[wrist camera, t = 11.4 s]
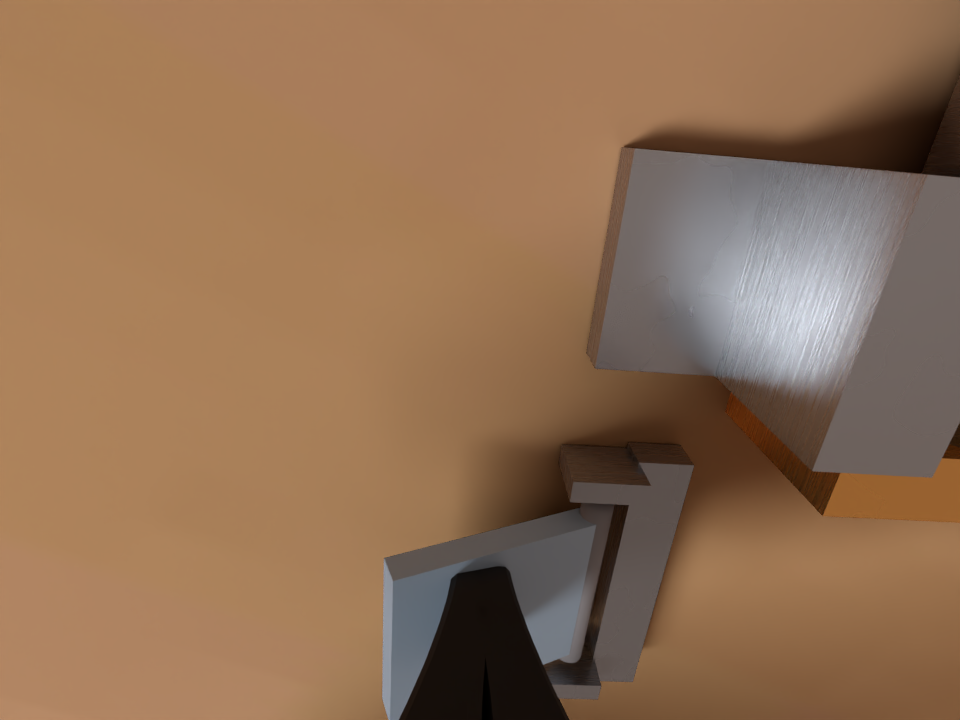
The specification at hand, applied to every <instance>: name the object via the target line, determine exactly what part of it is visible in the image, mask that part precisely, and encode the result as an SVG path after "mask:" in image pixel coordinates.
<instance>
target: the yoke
mask: <svg viewBox="0 0 960 720" xmlns="http://www.w3.org/2000/svg"><path fill="white" fill-rule="evenodd" d="M586 353H587V355H588V357H589V358H590V360H591V362H592V364H593V366H594V368H595V369H610V370H626V371H642V372H658V373H674V374H689V375H705V376H715V377H716V378H717V379H718V380H719V381H720V382H721V383H722V384H723V385H724V386H725V387H726V388H727V389H728V390H729V391H730V392H731V393H732V394H733V395H735V396H736V397H737V398H738V399H739V400H740V401H741V402H742V403H743V404H744V405H745V406H746V407H747V408H748V409H749V410H750V411H751V412H752V413H753V414H754V415H755V416H756V417H757V418H758V419H759V420H760V421H761V422H762V423H763V424H764V425H765V426H766V427H767V428H768V429H769V430H770V431H771V432H772V433H773V434H774V435H775V436H776V437H778V438H779V439H780V440H781V441H782V442H783V443H784V444H785V445H786V446H787V447H788V448H789V449H790V450H791V451H792V452H793V453H794V454H795V455H796V456H797V457H798V458H799V459H800V460H801V461H802V462H803V463H804V464H805V465H806V466H807V467H808V468H809V469H810V470H811V471H816V472H835V473H854V474H872V475H891V476H910V477H928V478H932V477H933V475H934V473H935V471H936V469H937V467H938V465H939V463H940V461H941V459H942V457H943V455H944V453H945V451H946V449H947V447H948V445H949V443H950V441H951V439H952V437H953V435H954V433H955V431H956V429H957V427H958V425H959V423H960V177H953V176H942V175H931V174H920V173H909V172H898V171H887V170H876V169H865V168H854V167H843V166H832V165H820V164H809V163H797V162H786V161H774V160H763V159H751V158H740V157H729V156H717V155H706V154H694V153H683V152H671V151H660V150H648V149H637V148H625V147H622V149H621V155H620V161H619V166H618V172H617V178H616V184H615V190H614V196H613V201H612V207H611V213H610V219H609V225H608V230H607V236H606V242H605V248H604V254H603V259H602V265H601V271H600V277H599V283H598V288H597V294H596V300H595V306H594V312H593V317H592V323H591V329H590V335H589V341H588V347H587V352H586Z"/></svg>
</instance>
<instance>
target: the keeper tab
mask: <svg viewBox="0 0 960 720" xmlns="http://www.w3.org/2000/svg"><path fill="white" fill-rule="evenodd" d="M613 510H614V504H597V503H581V507H580V508H577V509H573V510H569V511H565V512H561V513H557V514H554V515H550V516H546V517H542V518H538V519H534V520H530V521H526V522H522V523H519V524H515V525H511V526H507V527H503V528H499V529H495V530H491V531H487V532H484V533H480V534H476V535H472V536H468V537H464V538H460V539H456V540H452V541H449V542H445V543H441V544H437V545H433V546H429V547H425V548H421V549H417V550H414V551H410V552H406V553H402V554H398V555H394V556H390V557H386V558H384V602H383V686H382V699H383V703H384V706H385V710H386V713H387V716H388V720H399V718H400V716H401V714H402V712H403V710H404V708H405V706H406V704H407V701H408V699H409V697H410V695H411V692H412V690H413V688H414V686H415V683H416V681H417V679H418V676H419V674H420V672H421V670H422V667H423V665H424V663H425V660H426V658H427V655H428V652H429V650H430V647H431V644H432V642H433V639H434V636H435V633H436V631H437V628H438V625H439V622H440V619H441V616H442V613H443V609H444V606H445V603H446V599H447V595H448V591H449V586H450V581H451V578H453V577H454V576H455V575H456V574H457V573H463V572H469V571H474V570H479V569H485V568H490V567H495V566H503V567H506V568H507V569H508V570H509V571H510V574H511V578H512V582H513V586H514V589H515V593H516V596H517V599H518V602H519V605H520V608H521V611H522V614H523V616H524V619H525V622H526V625H527V627H528V630H529V632H530V635H531V637H532V640H533V643H534V645H535V647H536V649H537V652H538V654H539V656H540V659H541V661H542V663H543V665H544V664H547V663H549V662H552V661H554V660H557V659H560V660H562V661H564V662H566V663H574V662H577V661H578V660H579V659H580V657H581V654H582V650H583V645H584V641H585V636H586V632H587V627H588V623H589V618H590V614H591V609H592V604H593V600H594V595H595V591H596V586H597V582H598V577H599V573H600V568H601V564H602V559H603V555H604V550H605V546H606V541H607V537H608V532H609V528H610V523H611V519H612V514H613Z"/></svg>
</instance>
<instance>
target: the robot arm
mask: <svg viewBox="0 0 960 720" xmlns="http://www.w3.org/2000/svg"><path fill="white" fill-rule="evenodd" d="M399 720H569V718H568V716H567V714H566V712H565V710H564V708H563V706H562V704H561V702H560V700H559V698H558V696H557V694H556V692H555V690H554V688H553V686H552V683H551V681H550V679H549V677H548V675H547V673H546V670H545V668H544V666H543V663H542V661H541V659H540V656H539V654H538V652H537V649H536V647H535V645H534V643H533V640H532V637H531V635H530V632H529V630H528V627H527V625H526V622H525V619H524V616H523V614H522V611H521V608H520V605H519V602H518V599H517V596H516V593H515V589H514V586H513V582H512V578H511V574H510V571H509V570H508V569H507V568H506V567H503V566H495V567H490V568H485V569H479V570H474V571H469V572H463V573H457V574H456V575H455V576H454V577H453V578H451V581H450V586H449V591H448V595H447V599H446V603H445V606H444V609H443V613H442V616H441V619H440V622H439V625H438V628H437V631H436V633H435V636H434V639H433V642H432V644H431V647H430V650H429V652H428V655H427V658H426V660H425V663H424V665H423V667H422V670H421V672H420V674H419V676H418V679H417V681H416V683H415V686H414V688H413V690H412V692H411V695H410V697H409V699H408V701H407V704H406V706H405V708H404V710H403V712H402V714H401V716H400V718H399Z"/></svg>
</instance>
